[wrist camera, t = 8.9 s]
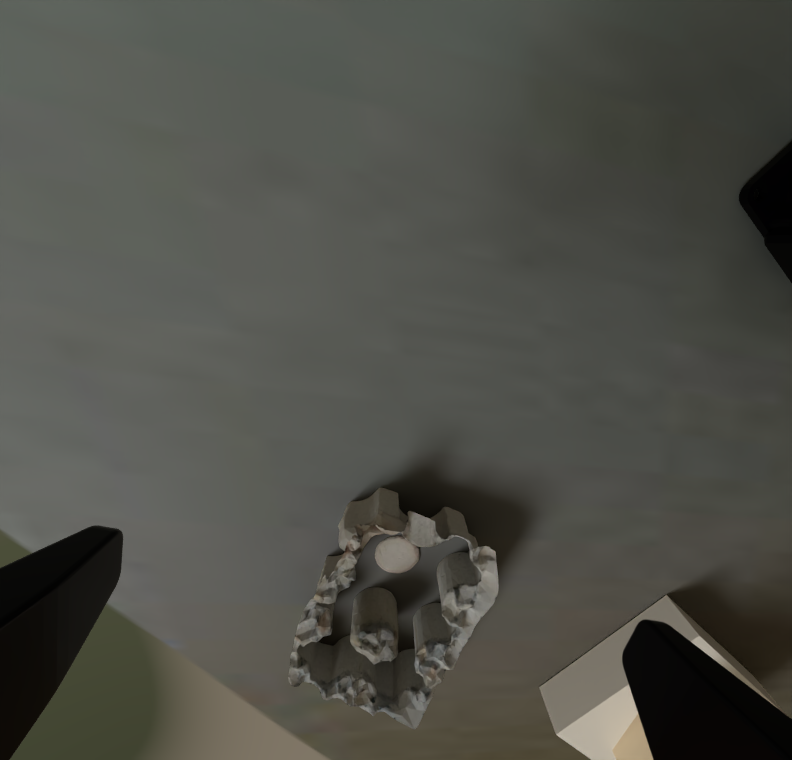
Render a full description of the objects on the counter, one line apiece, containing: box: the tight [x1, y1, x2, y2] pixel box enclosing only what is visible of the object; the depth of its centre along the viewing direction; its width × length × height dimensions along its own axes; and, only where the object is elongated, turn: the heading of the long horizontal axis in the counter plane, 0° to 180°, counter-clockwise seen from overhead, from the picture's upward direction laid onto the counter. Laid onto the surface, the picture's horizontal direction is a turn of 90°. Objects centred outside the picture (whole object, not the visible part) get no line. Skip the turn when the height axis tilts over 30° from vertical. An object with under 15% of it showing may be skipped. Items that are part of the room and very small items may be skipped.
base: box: [539, 595, 785, 760], centre depth 24 cm, size 9×9×2 cm
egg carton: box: [288, 487, 499, 729], centre depth 21 cm, size 11×8×4 cm
